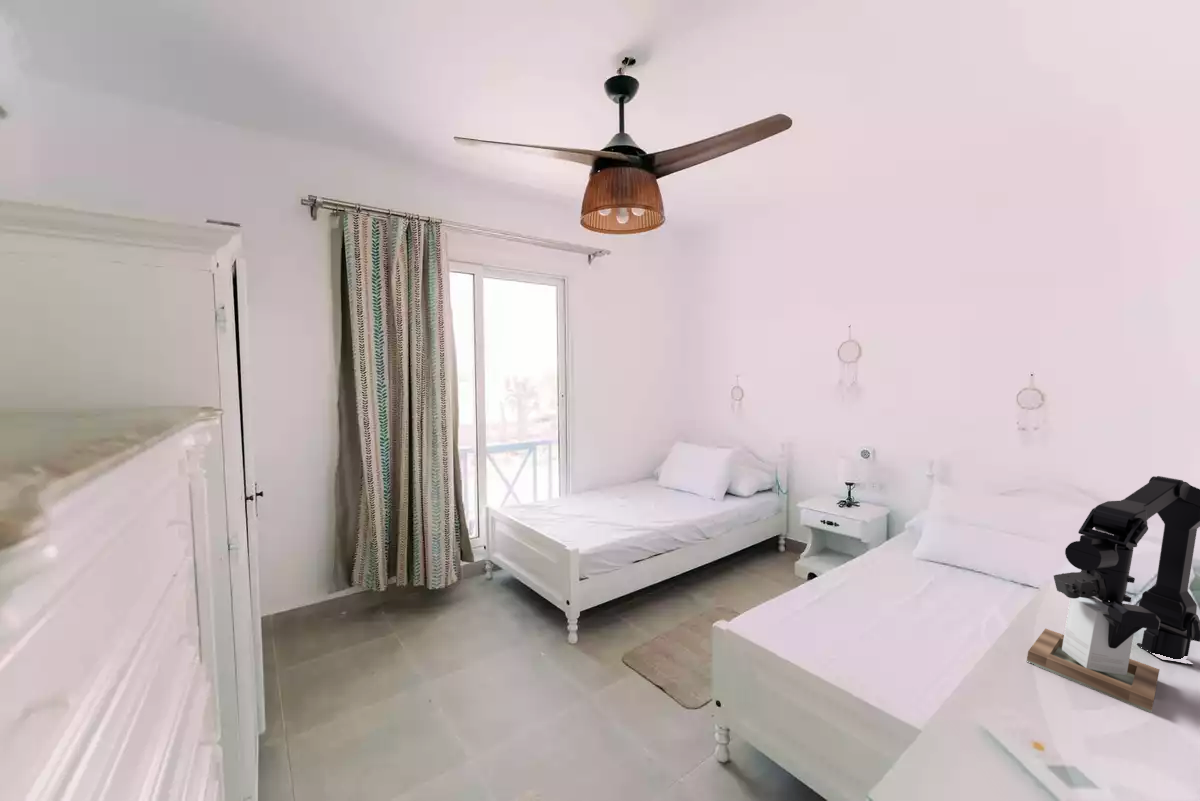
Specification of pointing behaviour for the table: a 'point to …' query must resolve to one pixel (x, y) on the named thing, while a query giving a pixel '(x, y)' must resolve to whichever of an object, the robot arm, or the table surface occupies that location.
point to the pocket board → (1096, 672)
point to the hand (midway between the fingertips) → (1097, 637)
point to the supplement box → (1093, 638)
